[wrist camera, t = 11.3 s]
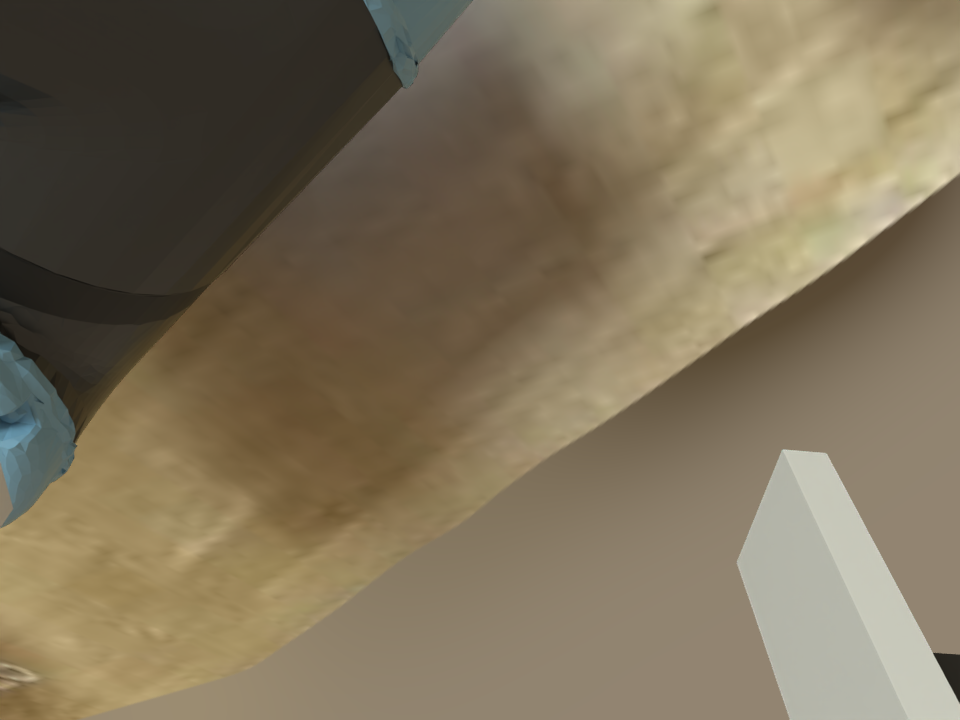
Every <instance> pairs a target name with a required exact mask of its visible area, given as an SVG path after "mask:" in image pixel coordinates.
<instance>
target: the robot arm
mask: <svg viewBox="0 0 960 720" xmlns="http://www.w3.org/2000/svg"><path fill="white" fill-rule="evenodd" d="M472 1H473V0H0V528H2V527H4V526H6V525H8V524H10V523H11V522H13V521H14V520H16V519H17V518H18V517H20V516H21V515H23V514H24V513H25V512H27V511H28V510H29V509H30V508H31V507H32V506H33V505H34V503H35V502H36V501H37V500H38V498H39V497H40V496H41V494H42V493H43V492H44V490H45V489H46V488H47V486H48V485H49V484H50V483H52V482H54V481H56V480H57V479H58V478H60V477H61V476H62V475H63V474H65V473H66V472H67V470H68V469H69V467H70V466H71V463H72V461H73V459H74V450H75V448H76V447H77V445H76V444H75V443H76V442H77V440H78V438H79V436H80V435H81V434H82V432H83V431H84V429H85V428H86V426H87V425H88V423H89V422H90V421H91V419H92V418H93V416H94V415H95V414H96V412H97V411H98V409H99V408H100V407H101V405H102V404H103V403H104V401H105V400H106V399H107V398H108V396H109V395H110V394H111V393H112V391H113V390H114V389H115V388H116V386H117V385H118V384H119V383H120V382H121V380H122V379H123V378H124V377H125V376H126V375H127V373H128V372H129V371H130V370H131V369H132V368H133V367H134V366H135V365H136V364H137V363H138V362H139V360H140V359H141V358H142V357H143V356H144V355H145V354H146V353H147V352H148V351H149V350H150V349H151V348H152V347H153V345H154V344H155V343H156V342H157V341H158V340H159V339H160V338H161V337H162V336H163V335H164V334H165V333H166V332H167V330H168V329H169V328H170V327H171V326H172V325H173V324H174V323H175V322H176V321H177V320H178V319H179V318H180V316H181V315H182V314H183V313H184V312H185V311H186V310H187V309H188V308H189V307H190V306H191V305H192V303H193V302H194V301H195V300H196V299H197V298H198V297H199V296H200V295H201V293H202V292H203V291H204V290H205V289H206V288H207V287H208V286H209V285H210V284H211V283H212V282H213V281H214V280H215V279H216V278H218V277H219V276H220V275H221V274H222V273H224V272H225V271H226V270H227V269H228V268H229V267H230V266H231V265H232V263H233V262H234V261H235V260H236V259H237V258H238V257H239V256H240V255H241V254H242V253H243V252H244V251H245V250H246V249H247V248H248V247H249V246H250V245H251V244H252V243H253V242H254V241H255V239H256V238H257V237H258V236H259V235H260V234H261V233H262V232H263V231H264V230H265V229H266V228H267V227H268V226H269V225H270V224H271V223H272V222H273V221H274V220H275V219H276V218H277V217H278V215H279V214H280V213H281V212H282V211H283V210H284V209H285V208H286V207H287V206H288V205H289V204H290V203H291V202H292V201H293V200H294V199H295V198H296V197H297V196H298V195H299V194H300V192H301V191H302V190H303V189H304V188H305V187H306V186H307V185H308V184H309V183H310V182H311V181H312V180H313V179H314V178H315V177H316V176H317V175H318V174H319V173H320V172H321V171H322V170H323V168H324V167H325V166H326V165H327V164H328V163H329V162H330V161H331V160H332V159H333V158H334V157H335V156H336V155H337V154H338V153H339V152H340V151H341V150H342V149H343V148H344V147H345V146H346V144H347V143H348V142H349V141H350V140H351V139H352V138H353V137H354V136H355V135H356V134H357V133H358V132H359V131H360V130H361V129H362V128H363V127H364V126H365V125H366V124H367V123H368V121H369V120H370V119H371V118H372V117H373V116H374V115H375V114H376V113H377V112H378V111H379V110H380V109H381V108H382V107H383V106H384V105H385V104H386V103H387V102H388V101H389V100H390V99H391V97H392V96H393V95H394V94H395V93H396V92H397V91H398V90H399V89H400V88H401V87H403V88H405V89H407V88H408V87H410V86H411V85H412V84H413V81H414V78H416V77H417V74H418V64H419V63H420V62H421V61H422V59H423V58H424V57H425V56H426V55H427V54H428V52H429V51H430V50H431V49H432V48H433V46H434V45H435V44H436V43H437V42H438V41H439V39H440V38H441V37H442V36H443V35H444V34H445V32H446V31H447V30H448V29H449V28H450V27H451V25H452V24H453V23H454V22H455V21H456V19H457V18H458V17H459V16H460V15H461V14H462V12H463V11H464V10H465V9H466V8H467V7H468V5H469V4H470V3H471V2H472ZM737 565H738V567H739V571H740V574H741V577H742V579H743V583H744V586H745V589H746V591H747V594H748V597H749V600H750V603H751V606H752V609H753V612H754V615H755V618H756V621H757V624H758V627H759V630H760V632H761V635H762V638H763V642H764V645H765V648H766V651H767V653H768V656H769V659H770V662H771V665H772V668H773V671H774V674H775V677H776V680H777V683H778V686H779V689H780V692H781V695H782V698H783V701H784V704H785V707H786V709H787V713H788V716H789V719H790V720H960V655H956V654H941V653H932V651H931V649H930V647H929V645H928V643H927V642H926V640H925V638H924V636H923V634H922V632H921V630H920V628H919V626H918V624H917V623H916V621H915V619H914V617H913V615H912V613H911V611H910V609H909V608H908V606H907V604H906V602H905V600H904V598H903V596H902V594H901V592H900V591H899V589H898V587H897V585H896V583H895V581H894V580H893V578H892V576H891V574H890V572H889V570H888V568H887V566H886V564H885V562H884V561H883V559H882V557H881V555H880V553H879V551H878V549H877V547H876V545H875V544H874V542H873V540H872V538H871V536H870V535H869V532H868V531H867V529H866V527H865V525H864V523H863V521H862V519H861V517H860V515H859V514H858V512H857V510H856V508H855V506H854V504H853V502H852V500H851V498H850V497H849V495H848V493H847V491H846V489H845V487H844V485H843V483H842V482H841V480H840V478H839V476H838V474H837V472H836V470H835V468H834V467H833V465H832V463H831V461H830V459H829V457H828V455H827V453H818V452H805V451H794V450H782V452H781V454H780V457H779V459H778V462H777V464H776V467H775V469H774V471H773V474H772V477H771V479H770V481H769V484H768V486H767V489H766V491H765V494H764V496H763V499H762V501H761V504H760V506H759V509H758V511H757V513H756V516H755V519H754V521H753V523H752V526H751V528H750V531H749V533H748V536H747V538H746V541H745V543H744V546H743V548H742V551H741V553H740V555H739V558H738V560H737Z"/></svg>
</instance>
